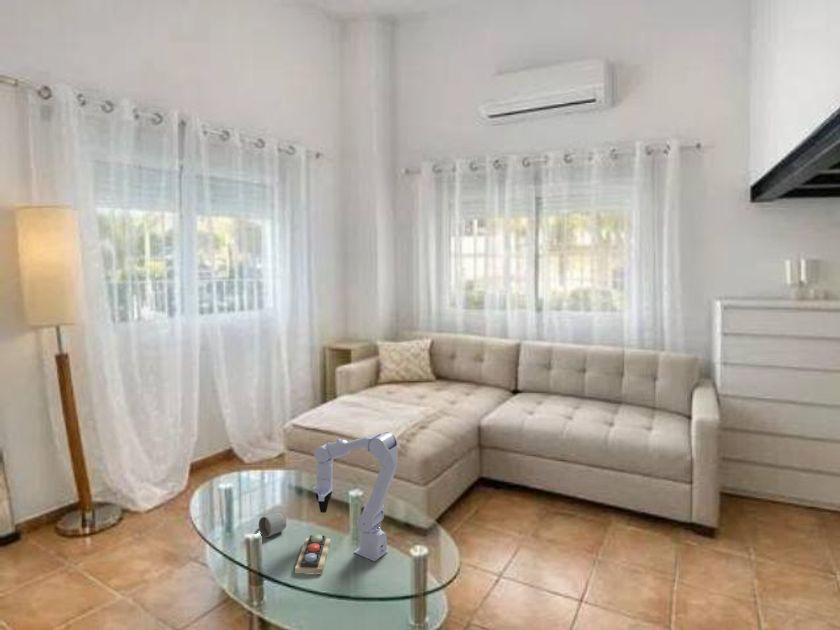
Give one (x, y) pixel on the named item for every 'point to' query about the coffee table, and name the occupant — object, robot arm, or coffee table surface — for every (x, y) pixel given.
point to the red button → (314, 547)
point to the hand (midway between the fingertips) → (323, 511)
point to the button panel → (321, 557)
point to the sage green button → (316, 538)
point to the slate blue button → (310, 558)
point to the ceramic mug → (272, 524)
